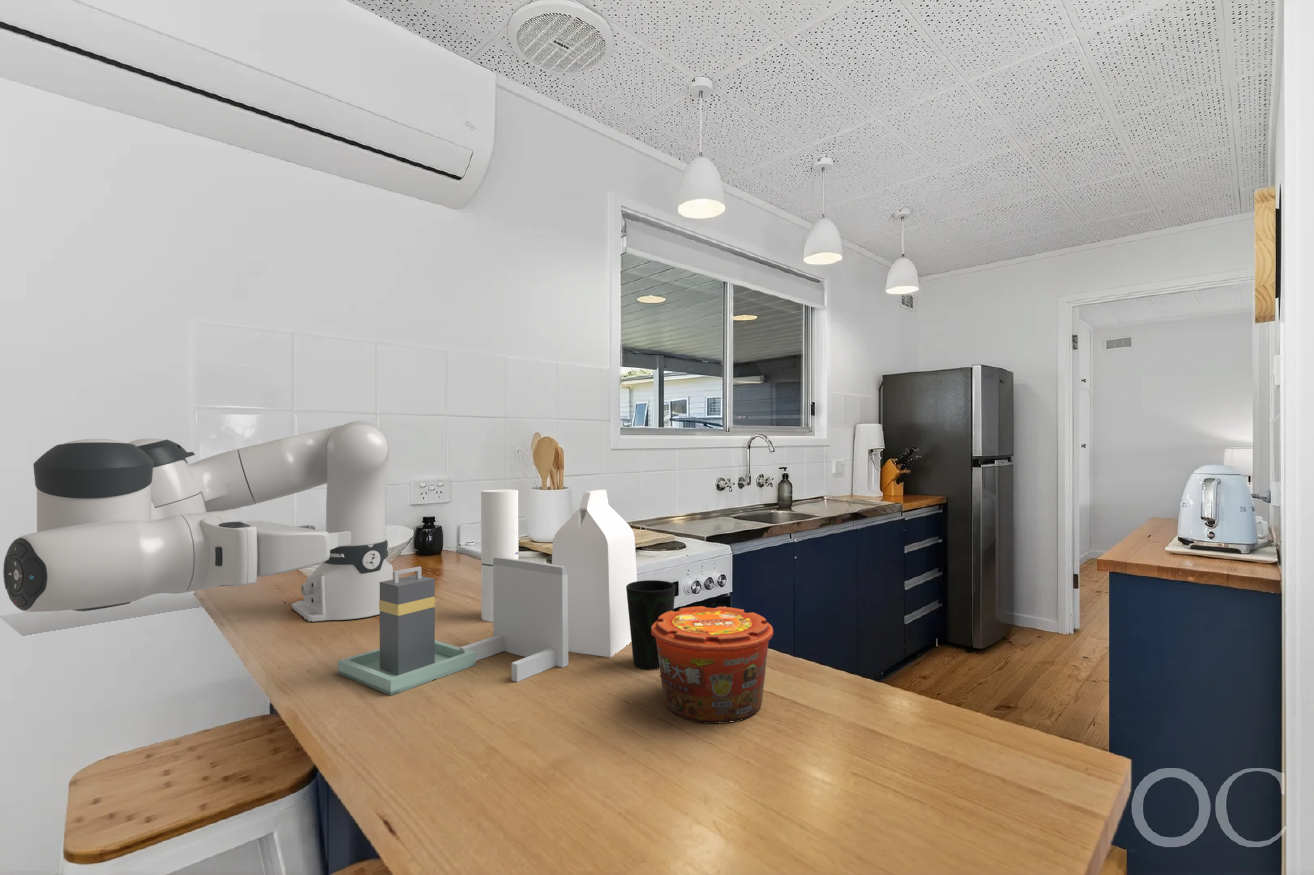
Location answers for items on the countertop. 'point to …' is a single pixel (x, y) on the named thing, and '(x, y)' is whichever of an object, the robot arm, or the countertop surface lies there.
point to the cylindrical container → (496, 538)
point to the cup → (647, 617)
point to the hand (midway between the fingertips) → (330, 534)
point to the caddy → (407, 622)
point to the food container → (712, 662)
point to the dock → (528, 616)
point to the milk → (596, 575)
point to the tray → (370, 674)
